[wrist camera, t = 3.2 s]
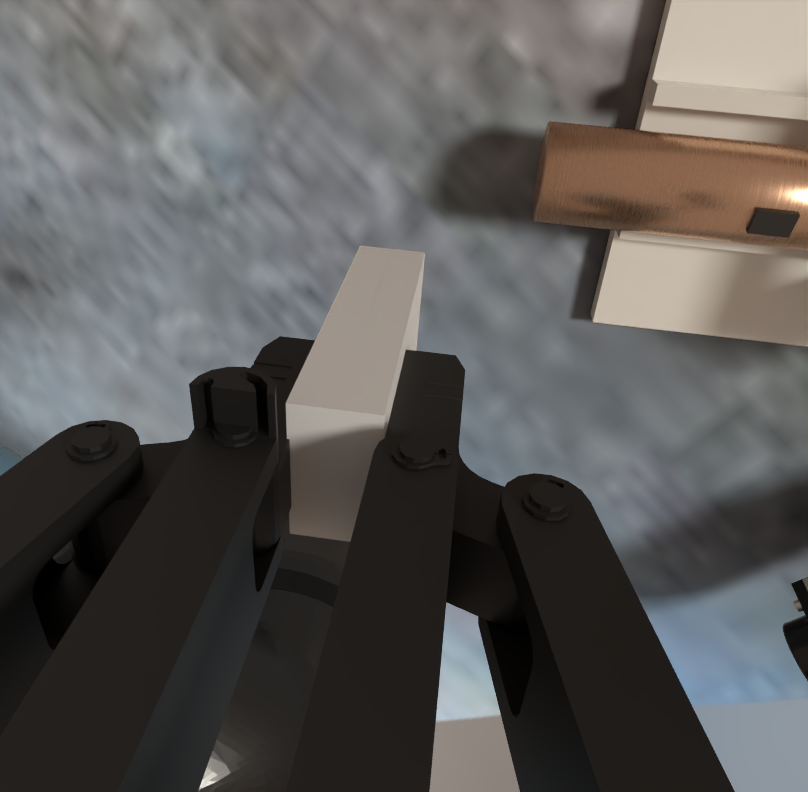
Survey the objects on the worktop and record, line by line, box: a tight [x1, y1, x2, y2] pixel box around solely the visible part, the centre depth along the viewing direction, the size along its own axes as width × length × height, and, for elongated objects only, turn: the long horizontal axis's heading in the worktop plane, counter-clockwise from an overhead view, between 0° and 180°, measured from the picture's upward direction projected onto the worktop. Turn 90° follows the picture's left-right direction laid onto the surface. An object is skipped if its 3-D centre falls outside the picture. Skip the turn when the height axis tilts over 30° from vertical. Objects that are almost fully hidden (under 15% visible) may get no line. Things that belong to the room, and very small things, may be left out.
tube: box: [533, 121, 808, 250], centre depth 28 cm, size 18×4×4 cm, turn 86°
